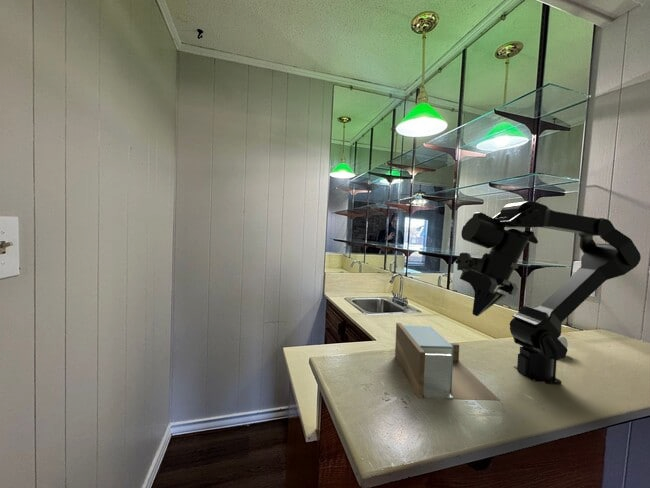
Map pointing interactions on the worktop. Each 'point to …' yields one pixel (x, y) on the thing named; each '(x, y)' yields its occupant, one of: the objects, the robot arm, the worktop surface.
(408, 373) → the shelf
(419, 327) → the light blue block
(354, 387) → the worktop surface
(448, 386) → the bookend
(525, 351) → the robot arm
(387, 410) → the worktop surface
